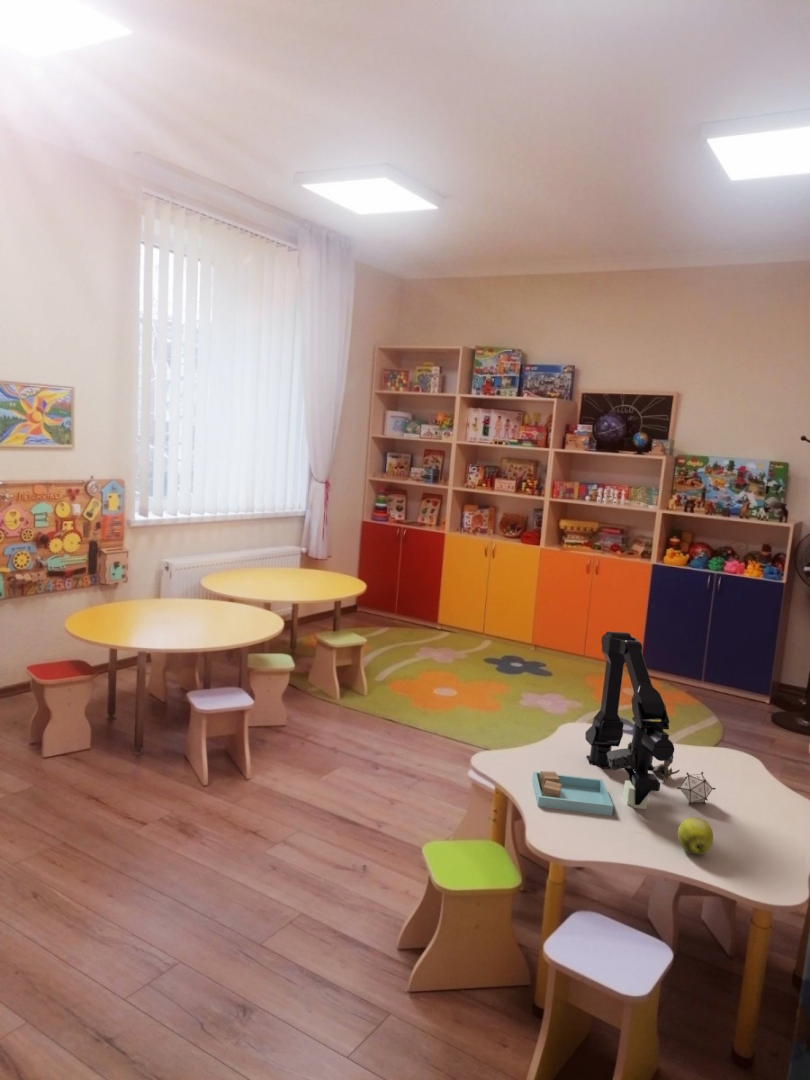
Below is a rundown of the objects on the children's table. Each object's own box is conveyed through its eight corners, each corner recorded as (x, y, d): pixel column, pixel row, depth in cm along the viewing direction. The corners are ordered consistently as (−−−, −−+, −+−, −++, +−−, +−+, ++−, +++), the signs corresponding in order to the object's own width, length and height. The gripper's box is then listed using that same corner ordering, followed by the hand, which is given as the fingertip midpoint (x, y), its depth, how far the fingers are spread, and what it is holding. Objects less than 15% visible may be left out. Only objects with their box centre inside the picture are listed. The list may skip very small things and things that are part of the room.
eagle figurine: (685, 781, 219) (678, 762, 227) (675, 761, 217) (668, 743, 225) (659, 790, 221) (653, 771, 229) (649, 771, 219) (643, 752, 227)
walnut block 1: (538, 785, 208) (540, 771, 208) (553, 785, 209) (555, 771, 208) (542, 792, 205) (544, 778, 204) (557, 793, 205) (559, 778, 204)
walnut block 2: (544, 794, 203) (546, 780, 203) (559, 798, 202) (561, 784, 202) (541, 801, 200) (543, 786, 199) (557, 805, 198) (559, 790, 198)
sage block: (622, 797, 207) (625, 780, 207) (641, 800, 207) (644, 782, 206) (626, 806, 203) (629, 788, 202) (646, 809, 202) (648, 791, 201)
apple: (706, 844, 187) (711, 813, 186) (713, 865, 179) (719, 832, 177) (672, 838, 189) (678, 807, 188) (678, 858, 180) (683, 826, 179)
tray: (531, 782, 211) (533, 771, 211) (600, 790, 210) (602, 779, 210) (537, 808, 197) (539, 797, 196) (611, 817, 196) (613, 806, 196)
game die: (684, 815, 209) (665, 782, 209) (698, 796, 215) (680, 764, 215) (713, 813, 202) (693, 780, 202) (726, 793, 208) (707, 761, 208)
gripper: (605, 726, 212) (597, 779, 214) (619, 755, 193) (610, 813, 196) (646, 730, 211) (638, 784, 214) (664, 760, 193) (655, 819, 195)
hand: (634, 799), depth 205 cm, fingers closed on sage block, 5 cm apart
